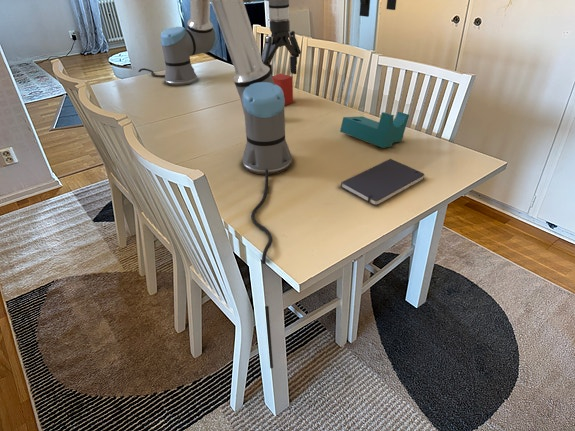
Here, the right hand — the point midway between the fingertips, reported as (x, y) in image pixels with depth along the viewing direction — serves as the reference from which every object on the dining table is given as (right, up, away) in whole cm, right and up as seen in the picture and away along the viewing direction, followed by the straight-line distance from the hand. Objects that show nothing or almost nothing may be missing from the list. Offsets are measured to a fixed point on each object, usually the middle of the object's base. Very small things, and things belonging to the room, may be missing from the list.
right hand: (377, 12), depth 119 cm
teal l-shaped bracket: (+3, -33, +21) cm, 39 cm away
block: (-29, -12, +50) cm, 59 cm away
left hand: (-29, -4, +44) cm, 53 cm away
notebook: (+1, -51, -4) cm, 51 cm away
